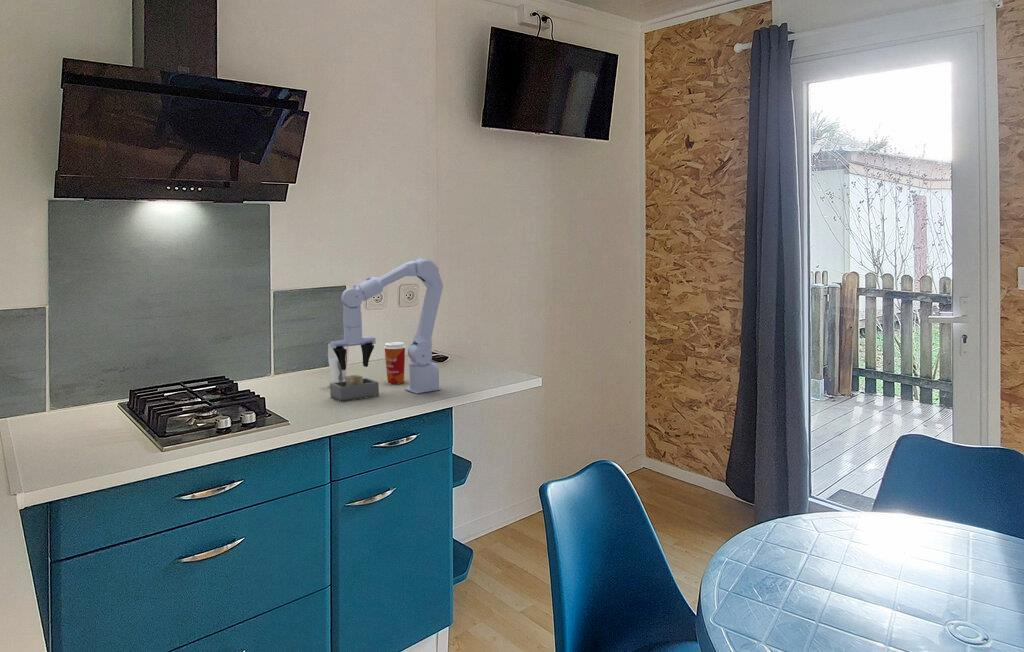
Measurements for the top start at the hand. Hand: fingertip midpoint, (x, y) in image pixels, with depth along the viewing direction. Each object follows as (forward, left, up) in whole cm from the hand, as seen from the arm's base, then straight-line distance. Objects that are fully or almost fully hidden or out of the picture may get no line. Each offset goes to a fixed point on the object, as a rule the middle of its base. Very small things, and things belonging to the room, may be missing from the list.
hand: (354, 367), depth 221 cm
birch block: (0, 0, -9) cm, 9 cm away
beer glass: (-2, -17, -10) cm, 20 cm away
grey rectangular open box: (0, 0, -9) cm, 9 cm away
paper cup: (-20, -10, -10) cm, 24 cm away
